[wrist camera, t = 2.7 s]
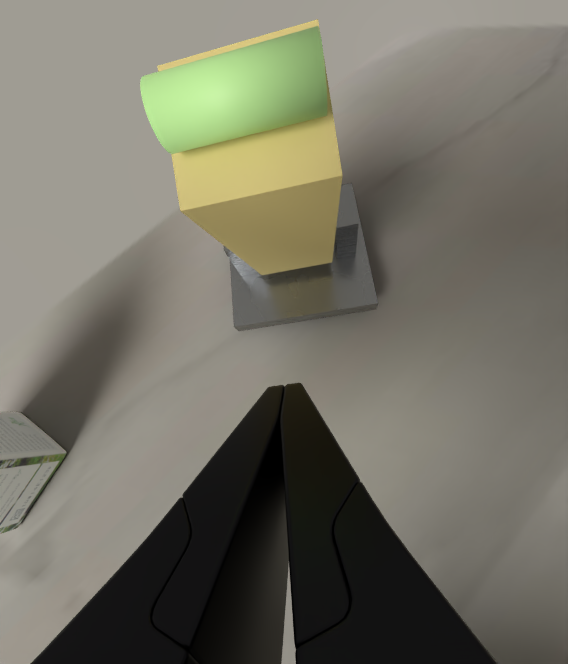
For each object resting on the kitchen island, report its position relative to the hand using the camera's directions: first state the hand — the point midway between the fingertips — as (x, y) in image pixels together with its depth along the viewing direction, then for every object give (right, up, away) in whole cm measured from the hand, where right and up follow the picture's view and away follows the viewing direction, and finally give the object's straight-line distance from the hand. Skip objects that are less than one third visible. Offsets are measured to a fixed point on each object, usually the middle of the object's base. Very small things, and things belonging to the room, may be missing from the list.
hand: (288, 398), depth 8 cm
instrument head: (0, +8, +11) cm, 13 cm away
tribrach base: (+1, +6, +14) cm, 16 cm away
